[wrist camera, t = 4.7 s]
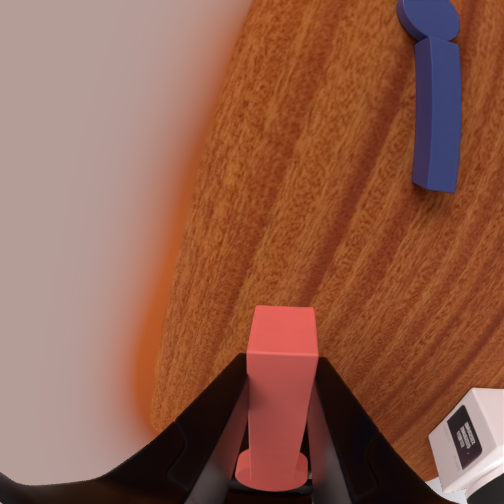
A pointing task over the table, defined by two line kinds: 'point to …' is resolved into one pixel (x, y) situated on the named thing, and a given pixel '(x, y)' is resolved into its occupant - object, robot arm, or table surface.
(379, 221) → the table surface
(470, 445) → the container
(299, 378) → the spoon coral
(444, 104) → the spoon navy
